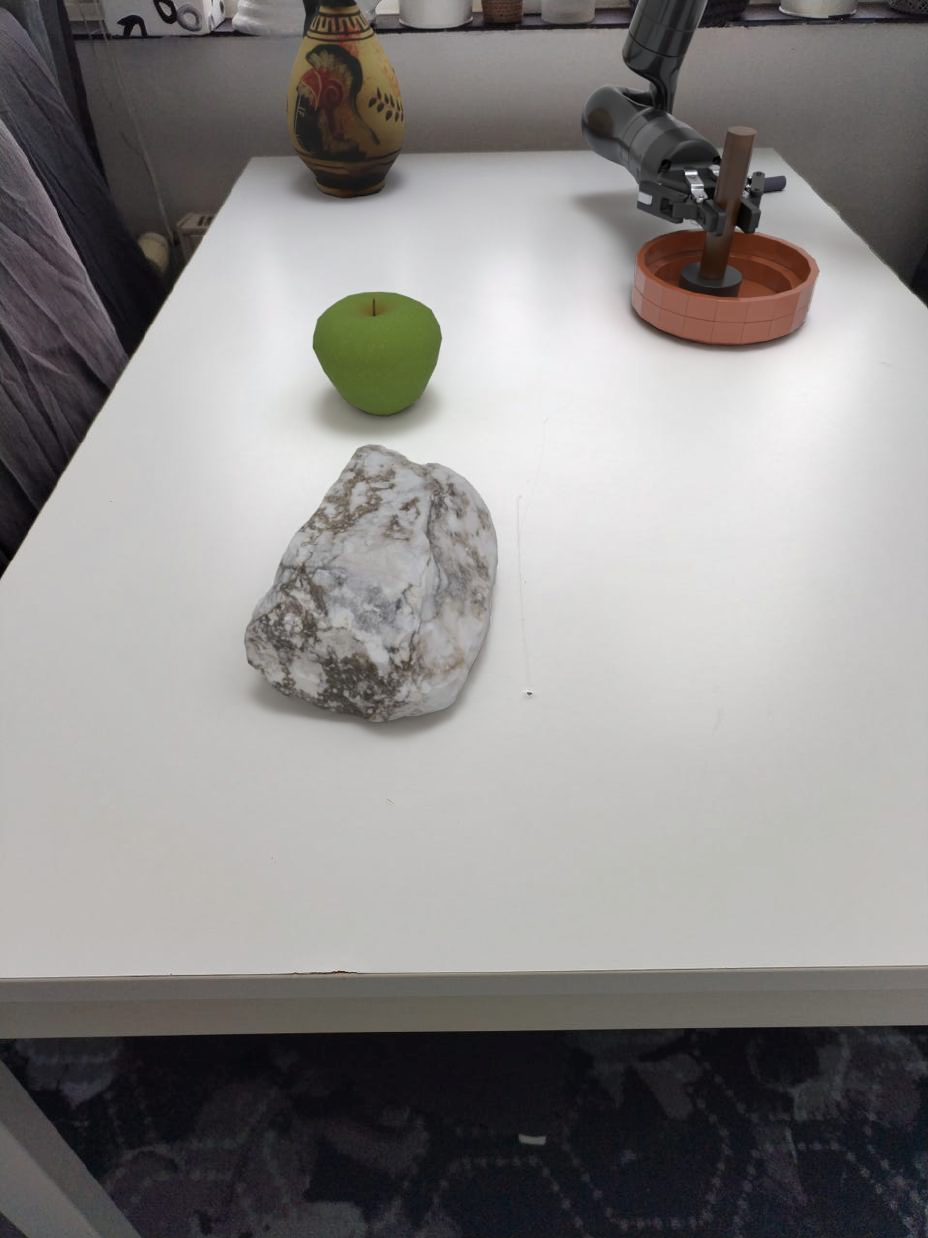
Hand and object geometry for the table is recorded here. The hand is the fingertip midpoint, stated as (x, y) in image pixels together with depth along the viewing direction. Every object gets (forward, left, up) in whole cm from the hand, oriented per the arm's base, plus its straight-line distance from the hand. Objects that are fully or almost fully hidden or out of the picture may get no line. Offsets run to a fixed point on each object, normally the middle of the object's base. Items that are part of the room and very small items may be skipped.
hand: (737, 224), depth 80 cm
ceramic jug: (+33, -50, -10) cm, 61 cm away
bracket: (-15, -40, -10) cm, 44 cm away
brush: (0, -3, -9) cm, 9 cm away
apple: (+35, +8, -10) cm, 37 cm away
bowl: (-1, -3, -10) cm, 10 cm away
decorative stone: (+37, +35, -10) cm, 52 cm away
